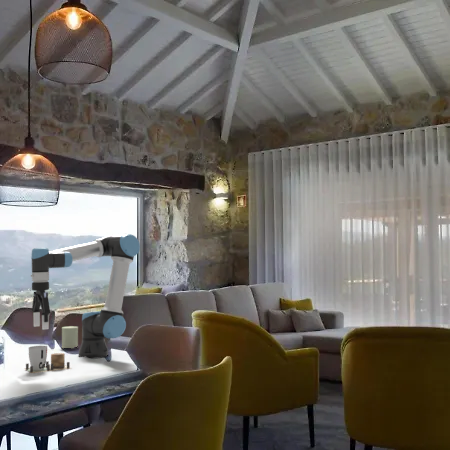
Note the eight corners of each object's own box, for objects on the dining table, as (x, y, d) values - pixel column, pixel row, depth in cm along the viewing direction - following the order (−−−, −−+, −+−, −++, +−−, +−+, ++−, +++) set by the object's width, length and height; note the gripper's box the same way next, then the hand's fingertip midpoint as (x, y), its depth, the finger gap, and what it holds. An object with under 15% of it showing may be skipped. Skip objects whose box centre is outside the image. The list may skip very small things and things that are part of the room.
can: (81, 347, 323) (81, 326, 324) (67, 349, 316) (67, 327, 317) (72, 345, 329) (72, 325, 330) (58, 347, 322) (58, 326, 323)
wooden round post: (62, 365, 261) (62, 352, 262) (66, 367, 256) (66, 354, 256) (49, 367, 258) (49, 353, 258) (53, 369, 253) (53, 355, 253)
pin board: (63, 366, 265) (63, 358, 265) (71, 371, 254) (71, 362, 254) (23, 371, 255) (23, 363, 255) (31, 376, 244) (31, 367, 244)
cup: (41, 371, 247) (41, 348, 248) (24, 370, 249) (24, 348, 249) (50, 367, 255) (50, 345, 256) (34, 367, 257) (34, 345, 257)
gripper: (24, 281, 266) (25, 325, 265) (40, 283, 245) (40, 331, 244) (40, 280, 270) (41, 324, 269) (57, 282, 250) (57, 329, 249)
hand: (41, 327), depth 257 cm, fingers open, 13 cm apart
